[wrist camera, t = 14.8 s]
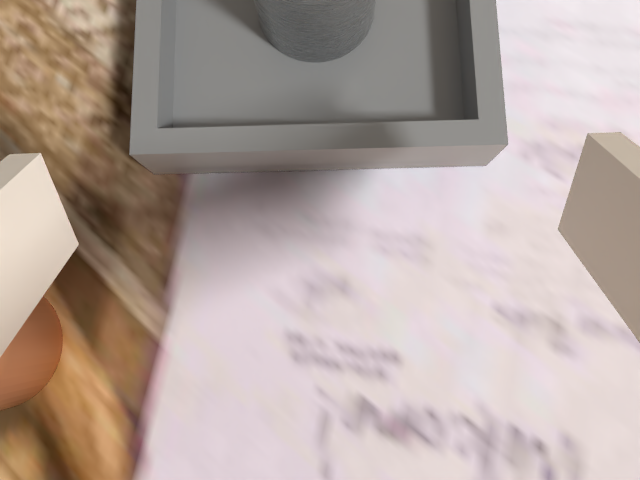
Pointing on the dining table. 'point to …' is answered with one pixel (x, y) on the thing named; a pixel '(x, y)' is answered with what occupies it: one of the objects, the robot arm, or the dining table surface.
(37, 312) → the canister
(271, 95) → the tray
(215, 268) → the dining table surface
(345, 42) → the steel roller
